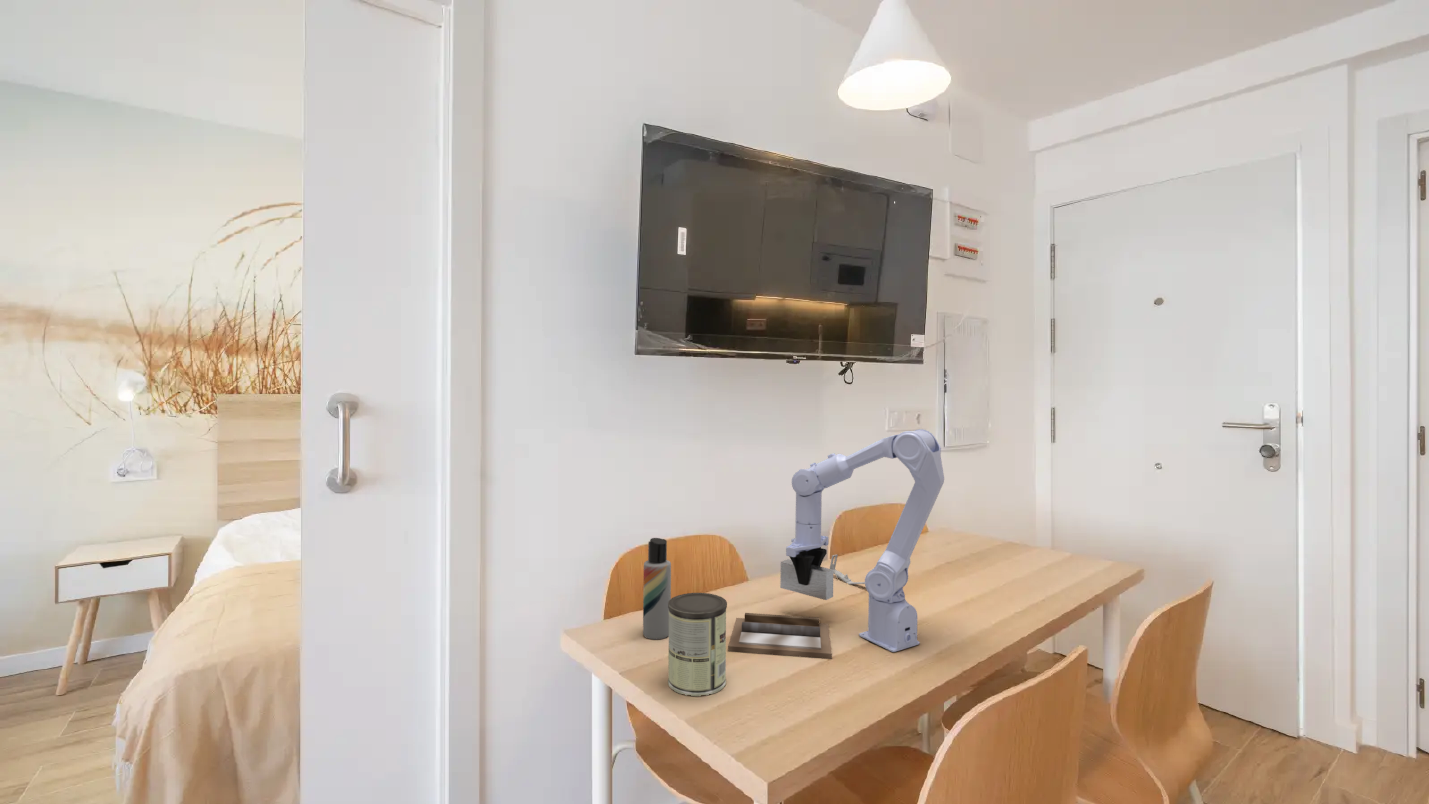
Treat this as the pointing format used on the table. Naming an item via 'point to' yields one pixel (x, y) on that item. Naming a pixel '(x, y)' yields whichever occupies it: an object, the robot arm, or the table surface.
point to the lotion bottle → (656, 590)
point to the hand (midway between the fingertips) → (807, 582)
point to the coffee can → (697, 643)
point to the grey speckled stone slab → (817, 584)
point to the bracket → (839, 574)
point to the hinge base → (781, 636)
